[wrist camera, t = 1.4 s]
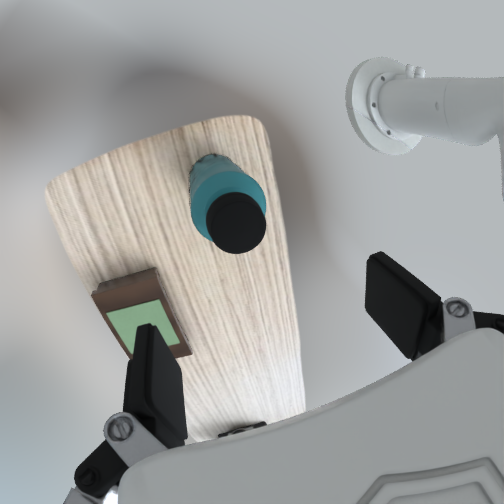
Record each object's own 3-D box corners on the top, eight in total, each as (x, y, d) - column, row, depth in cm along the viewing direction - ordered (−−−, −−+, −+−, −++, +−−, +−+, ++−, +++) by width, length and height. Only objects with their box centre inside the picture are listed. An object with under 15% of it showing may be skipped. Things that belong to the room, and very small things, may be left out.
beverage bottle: (231, 147, 35) (280, 169, 17) (240, 194, 38) (291, 259, 20) (183, 158, 34) (177, 191, 16) (194, 205, 37) (203, 282, 19)
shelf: (96, 283, 38) (90, 296, 35) (158, 264, 39) (156, 277, 36) (136, 353, 45) (135, 367, 42) (191, 340, 47) (192, 355, 43)
